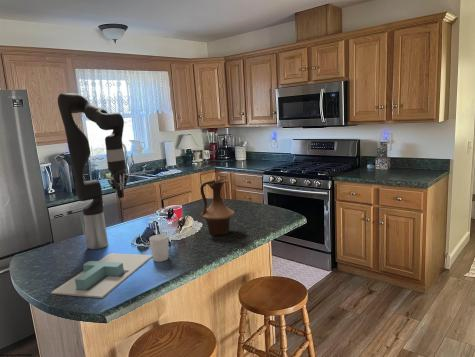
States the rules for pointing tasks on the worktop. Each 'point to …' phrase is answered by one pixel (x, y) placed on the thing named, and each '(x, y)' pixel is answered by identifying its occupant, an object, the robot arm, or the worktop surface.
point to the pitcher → (216, 209)
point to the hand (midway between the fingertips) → (121, 197)
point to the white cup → (159, 247)
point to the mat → (107, 282)
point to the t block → (97, 273)
